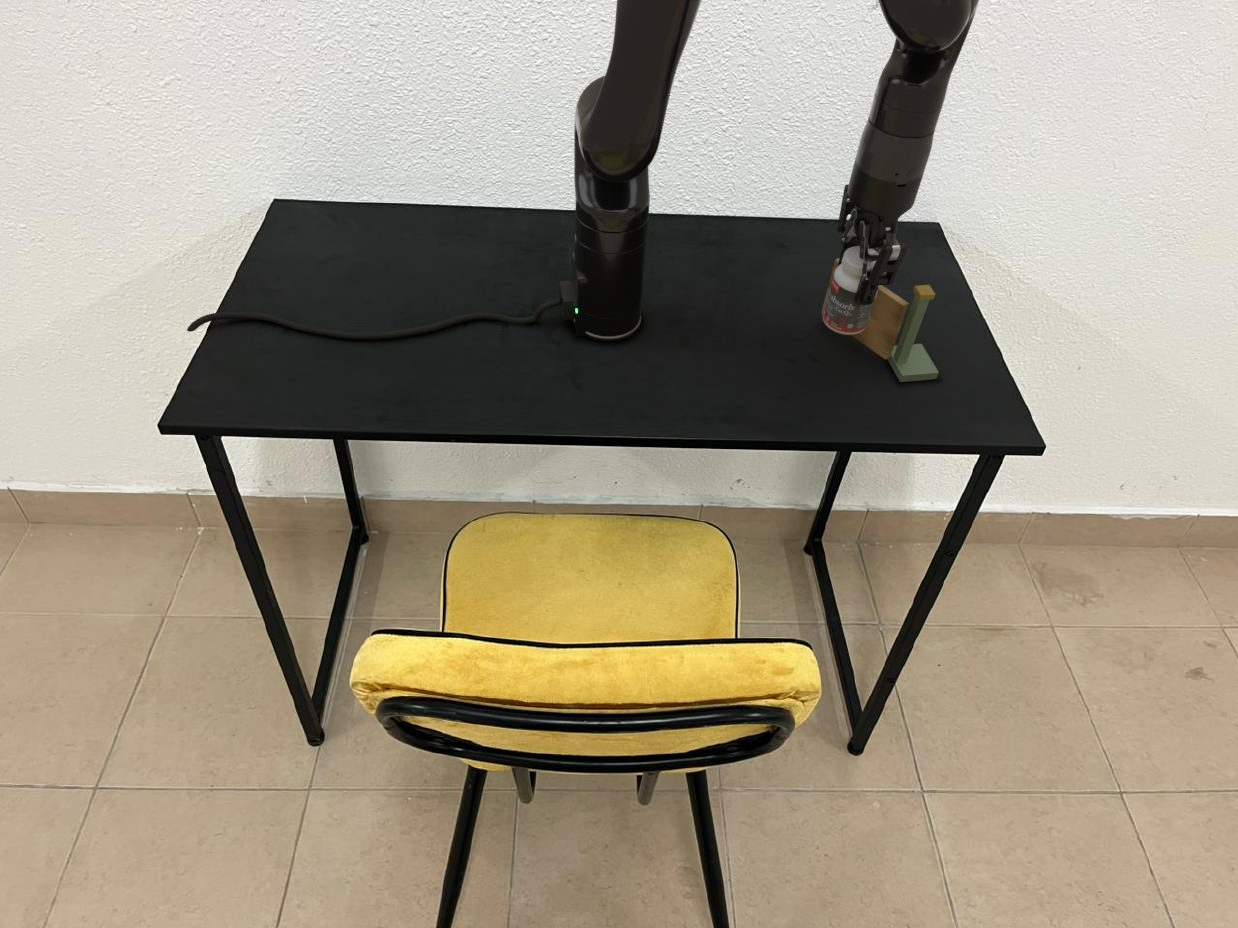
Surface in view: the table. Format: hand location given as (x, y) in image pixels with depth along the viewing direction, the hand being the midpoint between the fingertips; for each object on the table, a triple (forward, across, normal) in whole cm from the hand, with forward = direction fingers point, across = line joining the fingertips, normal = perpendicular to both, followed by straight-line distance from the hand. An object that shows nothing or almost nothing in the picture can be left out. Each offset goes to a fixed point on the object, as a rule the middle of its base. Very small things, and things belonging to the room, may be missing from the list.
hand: (854, 287), depth 112 cm
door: (+12, -5, +5) cm, 14 cm away
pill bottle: (+6, 0, 0) cm, 6 cm away
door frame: (+14, 0, +11) cm, 18 cm away
